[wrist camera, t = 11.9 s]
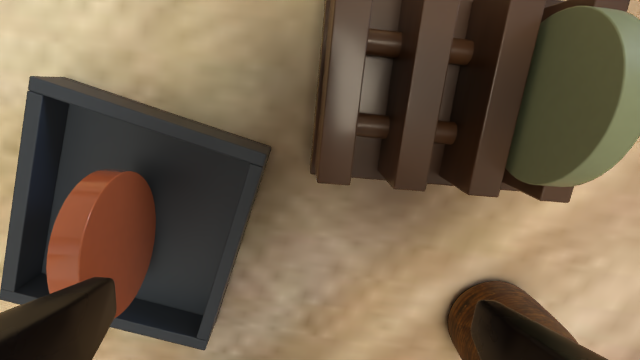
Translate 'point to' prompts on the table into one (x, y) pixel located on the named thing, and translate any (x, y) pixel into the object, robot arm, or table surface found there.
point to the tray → (167, 189)
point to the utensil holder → (505, 295)
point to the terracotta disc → (104, 234)
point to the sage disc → (578, 98)
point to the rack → (427, 91)
